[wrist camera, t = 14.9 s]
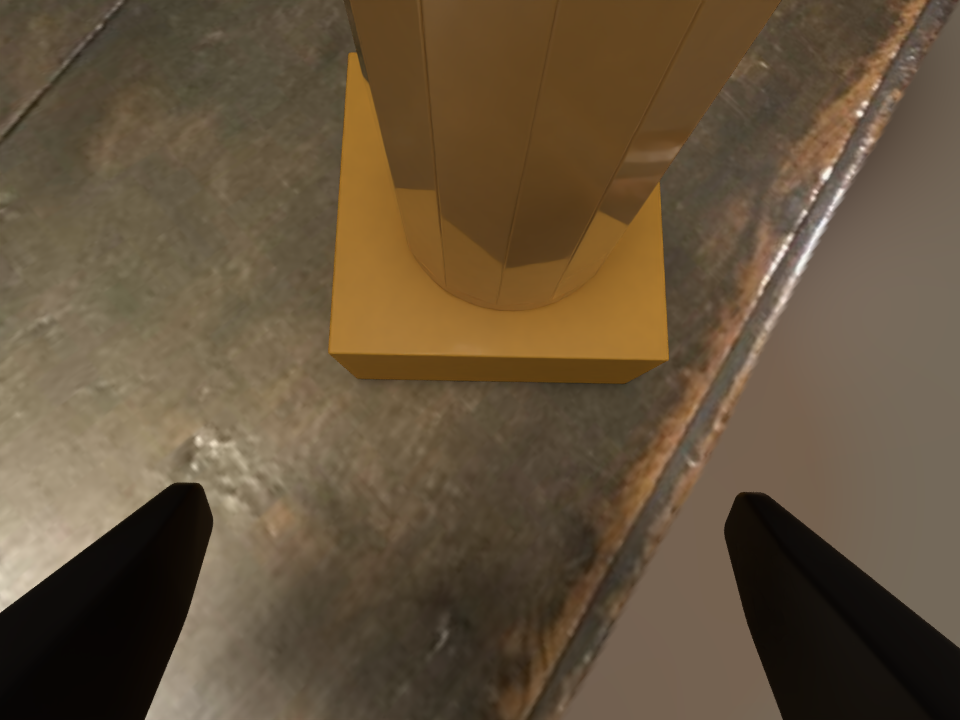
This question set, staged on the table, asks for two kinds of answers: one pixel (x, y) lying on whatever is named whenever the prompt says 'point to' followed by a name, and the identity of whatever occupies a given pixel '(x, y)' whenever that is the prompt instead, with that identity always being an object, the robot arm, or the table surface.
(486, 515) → the table surface
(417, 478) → the table surface
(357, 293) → the box
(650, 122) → the hollow tan tube
